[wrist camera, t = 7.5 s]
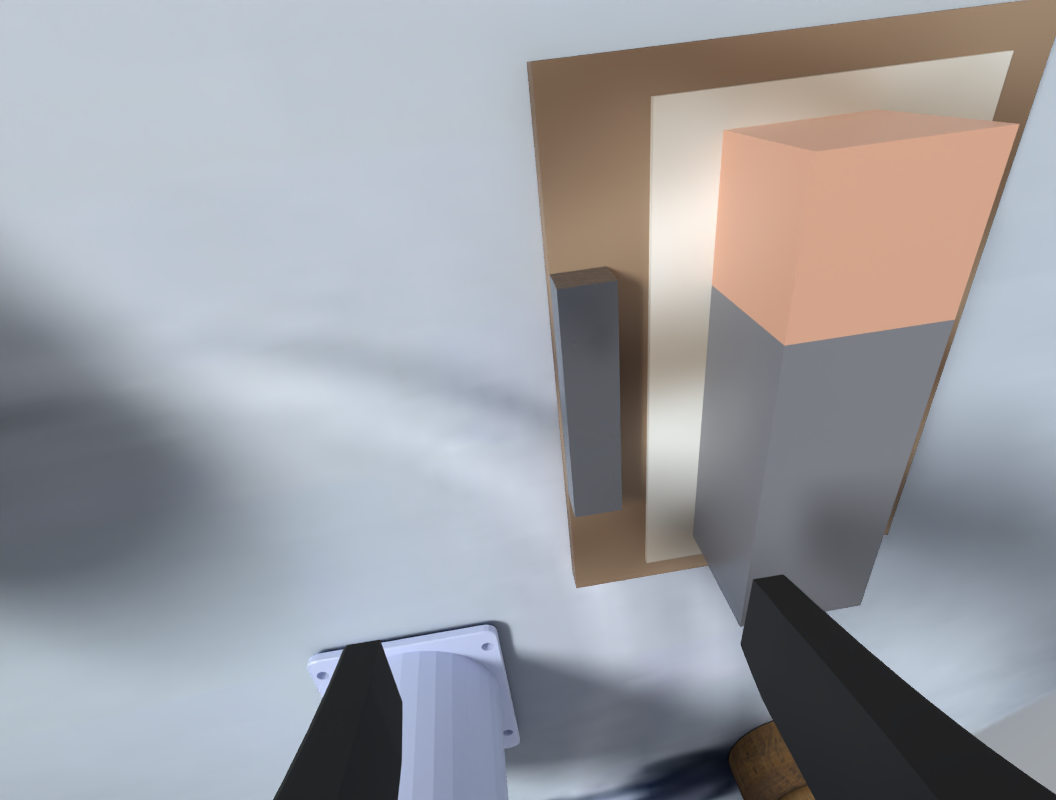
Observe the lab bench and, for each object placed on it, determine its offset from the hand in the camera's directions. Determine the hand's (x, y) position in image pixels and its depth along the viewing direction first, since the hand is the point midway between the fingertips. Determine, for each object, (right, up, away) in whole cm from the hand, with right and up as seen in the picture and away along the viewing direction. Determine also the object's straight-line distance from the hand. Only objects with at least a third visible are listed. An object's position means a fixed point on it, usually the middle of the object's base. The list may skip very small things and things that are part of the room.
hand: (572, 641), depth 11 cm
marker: (+7, +6, +7) cm, 11 cm away
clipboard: (+6, +6, +8) cm, 12 cm away
